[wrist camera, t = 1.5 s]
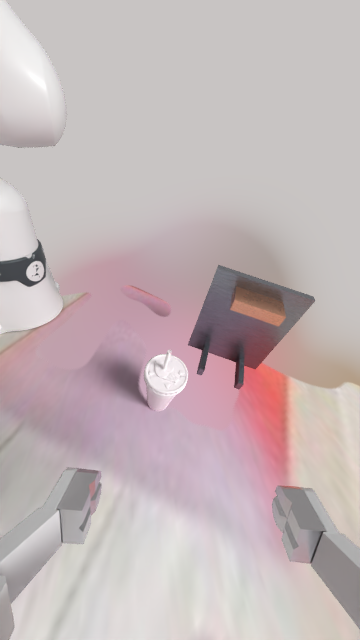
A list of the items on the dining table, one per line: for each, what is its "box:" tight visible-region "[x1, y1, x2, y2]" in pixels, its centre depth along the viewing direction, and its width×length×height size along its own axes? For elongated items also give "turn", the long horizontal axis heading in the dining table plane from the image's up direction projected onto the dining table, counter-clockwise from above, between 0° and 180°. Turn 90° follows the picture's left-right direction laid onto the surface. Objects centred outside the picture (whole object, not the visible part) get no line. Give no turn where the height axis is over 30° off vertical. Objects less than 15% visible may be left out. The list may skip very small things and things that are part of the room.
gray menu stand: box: [188, 265, 315, 389], centre depth 37 cm, size 16×8×20 cm, turn 74°
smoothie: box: [144, 350, 188, 411], centre depth 31 cm, size 6×6×14 cm
